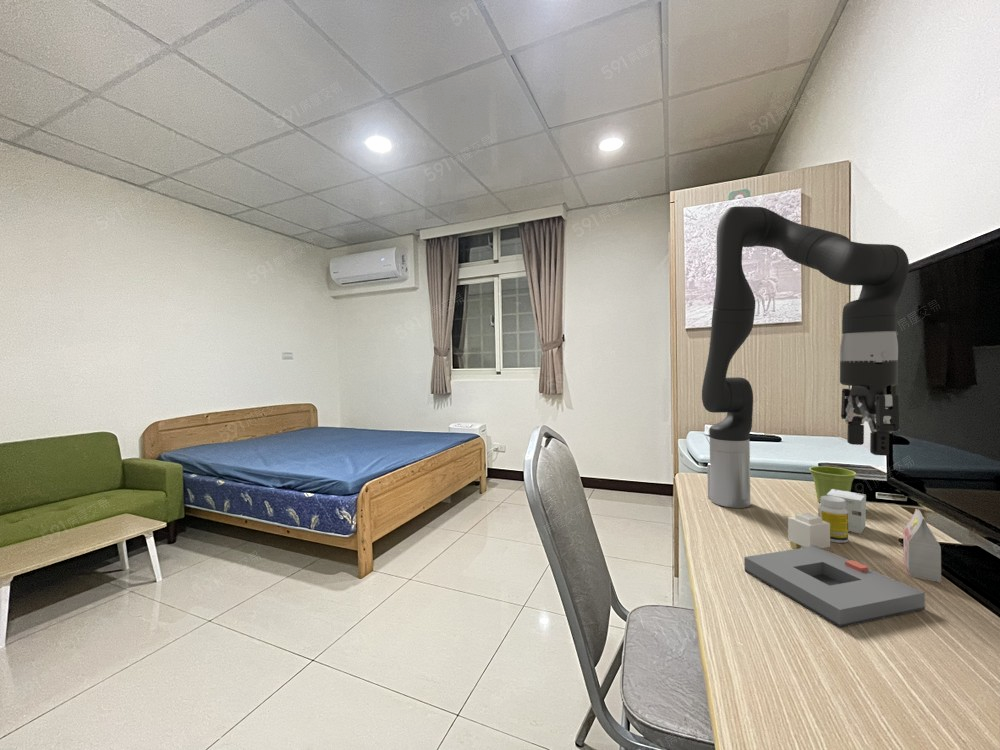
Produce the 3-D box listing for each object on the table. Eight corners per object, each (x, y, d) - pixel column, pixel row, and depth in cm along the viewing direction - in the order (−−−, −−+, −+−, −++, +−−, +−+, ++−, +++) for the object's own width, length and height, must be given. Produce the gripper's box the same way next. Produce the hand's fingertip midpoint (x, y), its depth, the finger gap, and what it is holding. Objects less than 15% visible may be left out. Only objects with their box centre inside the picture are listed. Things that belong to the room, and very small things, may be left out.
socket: (744, 570, 70) (744, 553, 70) (816, 559, 74) (815, 542, 74) (840, 627, 55) (839, 605, 55) (924, 609, 58) (924, 588, 58)
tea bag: (933, 566, 70) (932, 510, 70) (941, 582, 65) (940, 522, 65) (903, 560, 73) (903, 506, 73) (909, 575, 68) (908, 517, 67)
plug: (788, 547, 79) (788, 513, 79) (807, 544, 80) (807, 511, 80) (810, 557, 75) (809, 521, 74) (830, 554, 76) (829, 519, 76)
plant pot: (802, 502, 104) (802, 469, 104) (818, 495, 109) (818, 464, 109) (847, 512, 96) (847, 477, 96) (862, 505, 101) (862, 471, 101)
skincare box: (825, 526, 89) (825, 493, 89) (831, 519, 93) (831, 488, 92) (862, 534, 84) (862, 500, 84) (866, 526, 88) (866, 493, 88)
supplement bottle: (854, 544, 80) (853, 502, 79) (827, 542, 81) (826, 501, 80) (838, 534, 84) (838, 495, 84) (813, 533, 85) (813, 494, 85)
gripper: (825, 358, 78) (824, 440, 79) (860, 359, 65) (859, 457, 65) (874, 358, 75) (873, 442, 76) (921, 358, 62) (919, 460, 63)
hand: (866, 449), depth 71 cm, fingers open, 8 cm apart
